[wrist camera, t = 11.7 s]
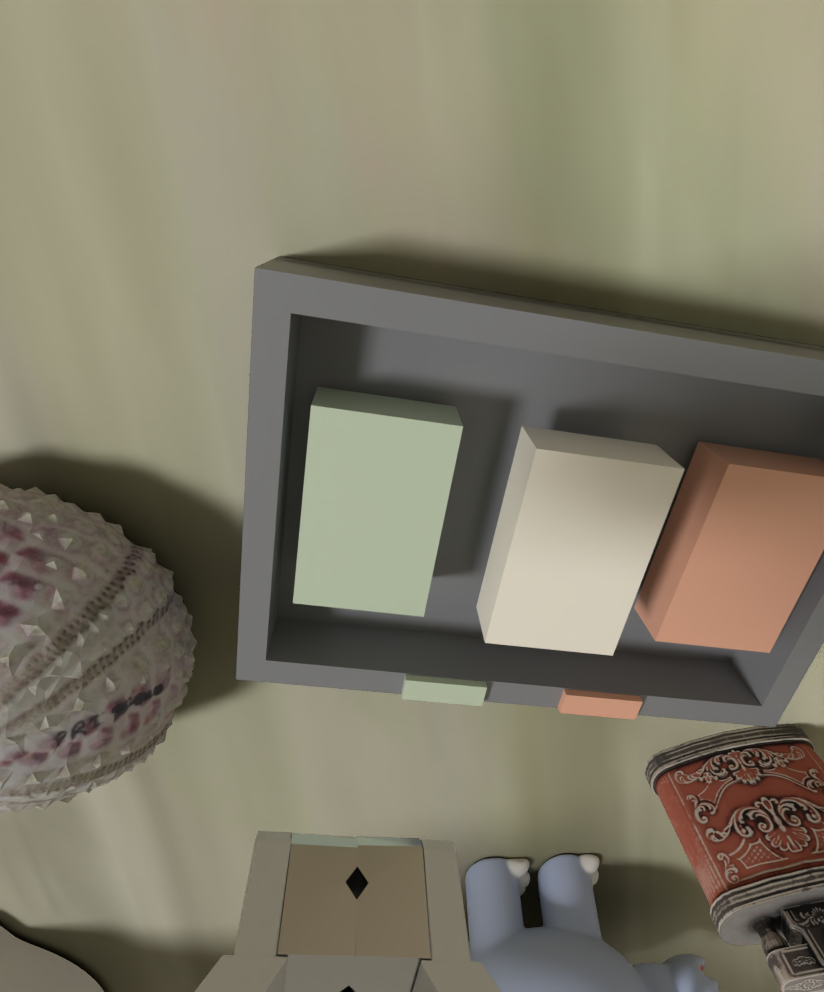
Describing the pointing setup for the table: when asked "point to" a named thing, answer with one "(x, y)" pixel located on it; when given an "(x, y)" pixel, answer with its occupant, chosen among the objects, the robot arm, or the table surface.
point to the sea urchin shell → (81, 650)
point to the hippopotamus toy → (559, 934)
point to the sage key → (374, 500)
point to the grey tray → (505, 483)
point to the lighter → (754, 840)
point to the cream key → (573, 540)
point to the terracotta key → (735, 549)
